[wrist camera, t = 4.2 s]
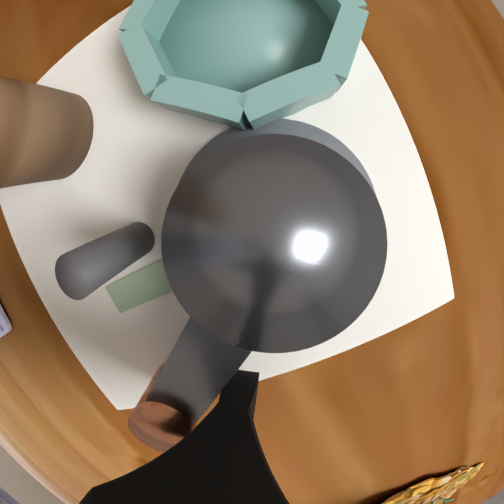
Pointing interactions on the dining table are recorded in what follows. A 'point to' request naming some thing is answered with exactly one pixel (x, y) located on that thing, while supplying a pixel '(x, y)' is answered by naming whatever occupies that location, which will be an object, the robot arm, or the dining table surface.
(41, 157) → the pin
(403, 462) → the dining table surface
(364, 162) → the board
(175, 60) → the socket
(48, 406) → the dining table surface
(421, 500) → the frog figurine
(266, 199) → the grey ball-ended lever
